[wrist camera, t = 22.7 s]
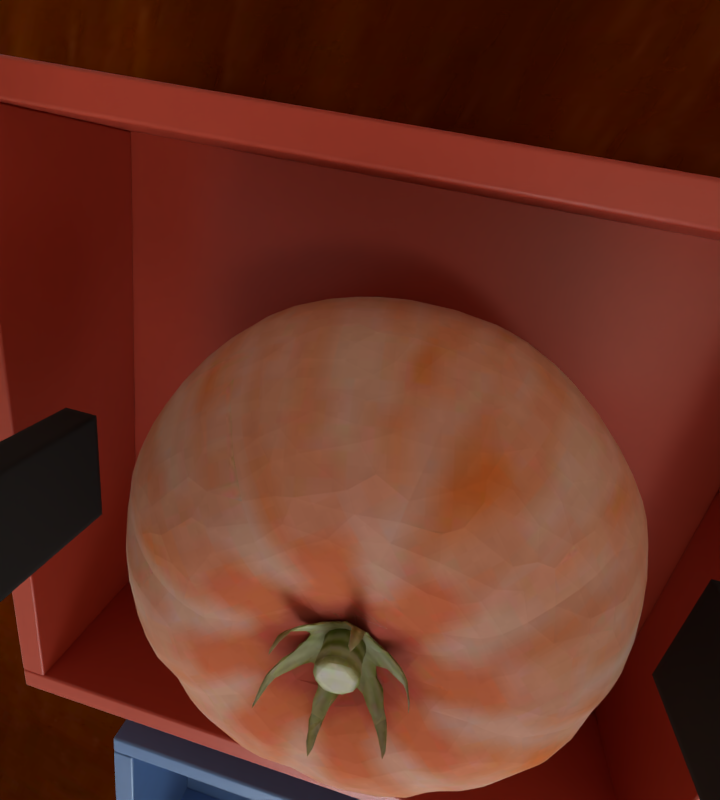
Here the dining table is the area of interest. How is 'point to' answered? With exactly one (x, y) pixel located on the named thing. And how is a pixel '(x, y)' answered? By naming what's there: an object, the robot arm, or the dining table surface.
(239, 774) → the blue bin
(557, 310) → the red bin
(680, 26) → the dining table surface
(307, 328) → the tomato
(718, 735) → the robot arm
